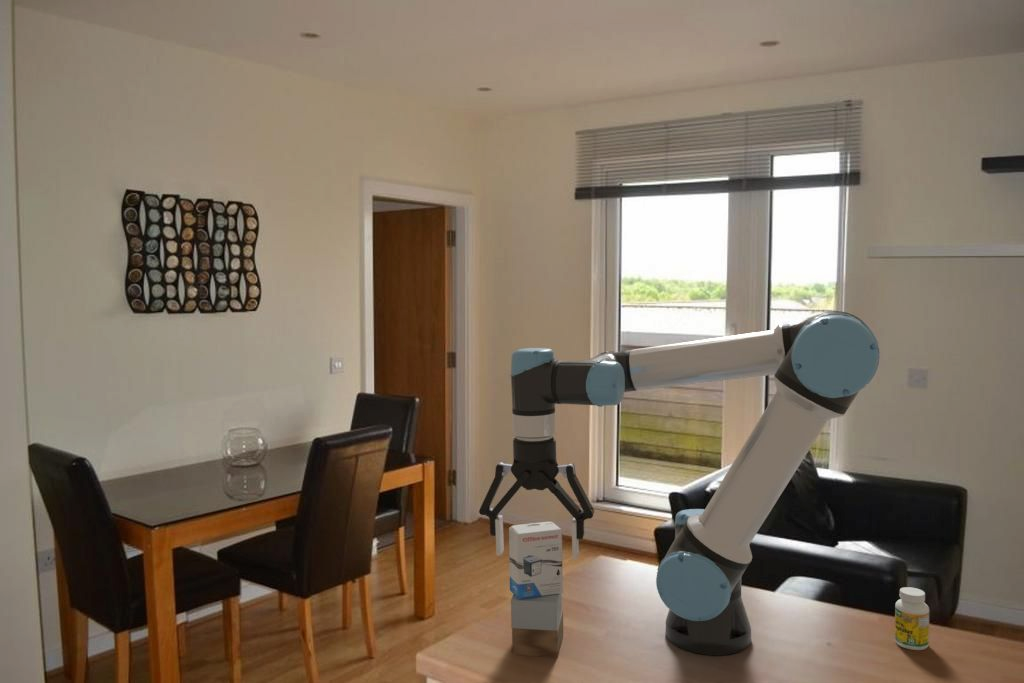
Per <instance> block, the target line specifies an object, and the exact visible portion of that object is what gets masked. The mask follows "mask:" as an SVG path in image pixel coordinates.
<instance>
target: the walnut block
mask: <svg viewBox="0 0 1024 683" xmlns="http://www.w3.org/2000/svg"><path fill="white" fill-rule="evenodd" d="M511 640H512V641H511V642H512V643H511V644H512V646H511V647H512V652H511V654H512V655H515V654H519V655H518V656H520V655H521V656H529V655H534V656H533V657H543V656H546V657H547V658H559V654H560V651H561V647H562V643H563V640H564V610H562V613H561V617H560V621H559V625H558V629H557V631H553V630H536V629H518V628H511Z"/></svg>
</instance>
